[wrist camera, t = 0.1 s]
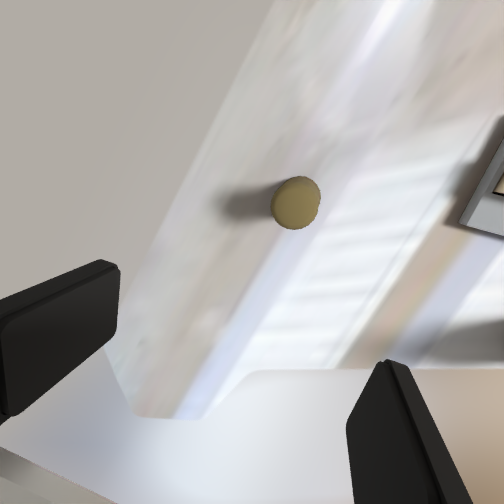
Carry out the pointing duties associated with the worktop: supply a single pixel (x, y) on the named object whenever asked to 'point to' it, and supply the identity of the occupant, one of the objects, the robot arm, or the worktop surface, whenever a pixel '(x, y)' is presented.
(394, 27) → the worktop surface
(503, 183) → the key
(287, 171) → the worktop surface
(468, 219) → the board
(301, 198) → the cork
